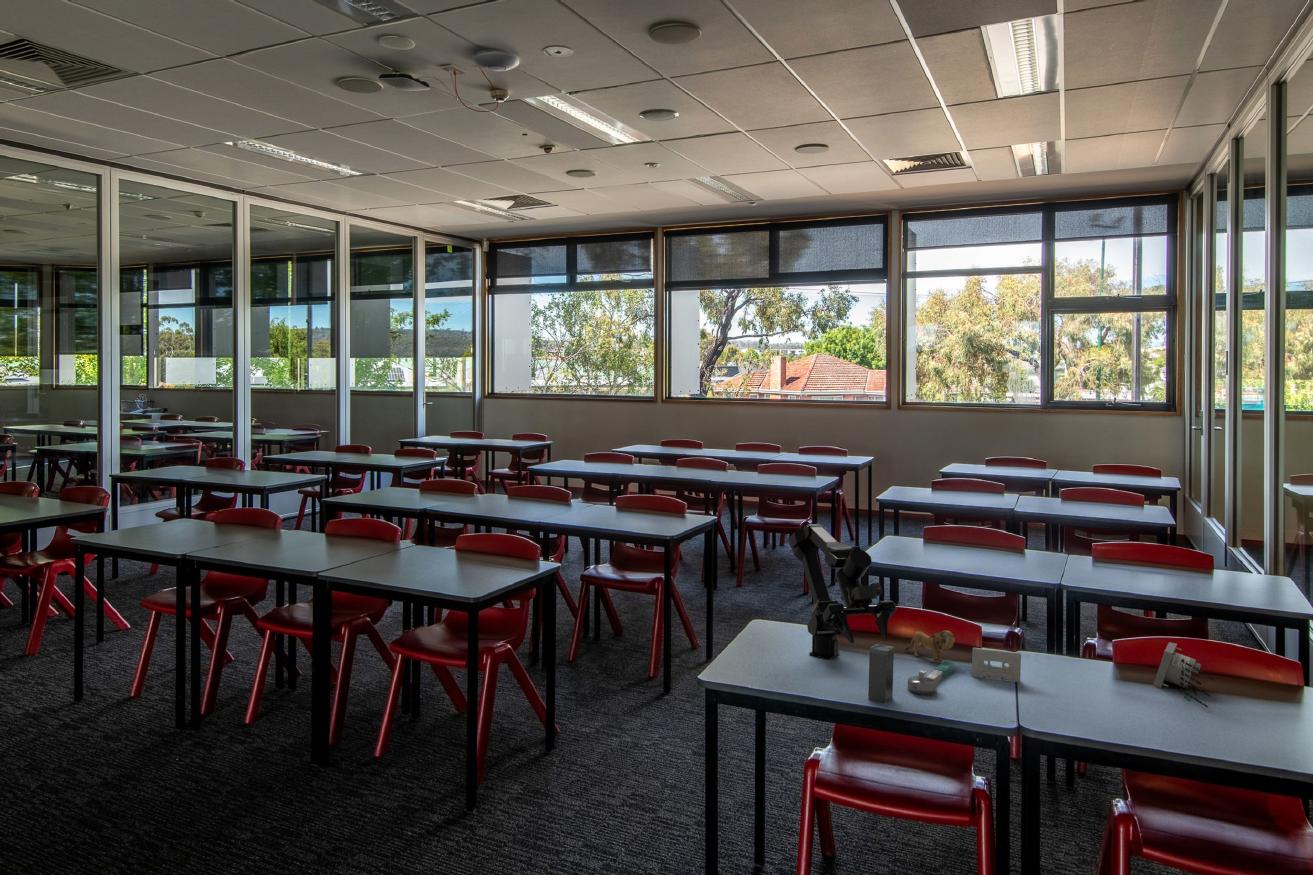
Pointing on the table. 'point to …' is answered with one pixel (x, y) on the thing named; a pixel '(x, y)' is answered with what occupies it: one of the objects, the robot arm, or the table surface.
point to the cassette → (996, 671)
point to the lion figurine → (933, 643)
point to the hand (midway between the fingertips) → (869, 641)
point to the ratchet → (929, 680)
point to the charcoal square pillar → (881, 673)
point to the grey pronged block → (1178, 670)
